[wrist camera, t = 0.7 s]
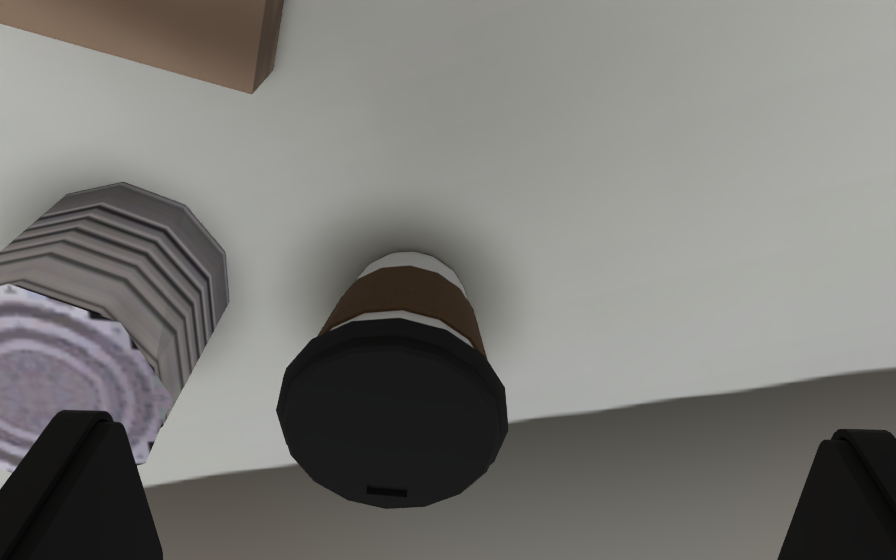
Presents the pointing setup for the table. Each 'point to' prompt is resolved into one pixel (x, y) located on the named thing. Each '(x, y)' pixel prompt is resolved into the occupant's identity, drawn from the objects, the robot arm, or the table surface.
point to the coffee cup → (395, 390)
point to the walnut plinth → (165, 33)
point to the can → (104, 313)
